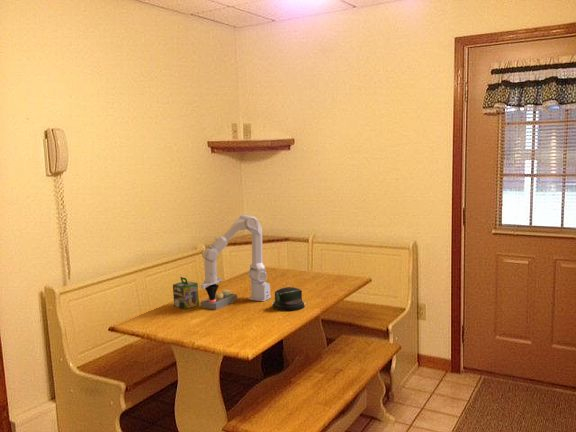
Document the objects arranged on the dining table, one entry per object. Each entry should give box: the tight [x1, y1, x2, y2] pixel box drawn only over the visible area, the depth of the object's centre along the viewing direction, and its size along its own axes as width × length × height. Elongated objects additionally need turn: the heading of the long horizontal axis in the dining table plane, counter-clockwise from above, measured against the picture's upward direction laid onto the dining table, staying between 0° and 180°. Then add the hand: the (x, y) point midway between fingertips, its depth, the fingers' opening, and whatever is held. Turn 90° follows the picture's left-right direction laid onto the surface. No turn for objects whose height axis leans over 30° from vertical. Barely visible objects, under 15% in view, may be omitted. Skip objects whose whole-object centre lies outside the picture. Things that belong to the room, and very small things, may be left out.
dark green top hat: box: [271, 286, 306, 312], centre depth 264 cm, size 20×20×9 cm
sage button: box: [221, 289, 231, 297], centre depth 277 cm, size 4×4×3 cm
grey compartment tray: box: [200, 293, 238, 311], centre depth 272 cm, size 9×18×3 cm, turn 151°
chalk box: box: [172, 276, 200, 310], centre depth 269 cm, size 9×9×15 cm
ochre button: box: [215, 292, 223, 300], centre depth 272 cm, size 4×4×3 cm
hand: (212, 299), depth 266 cm, fingers closed, pressing on red button
